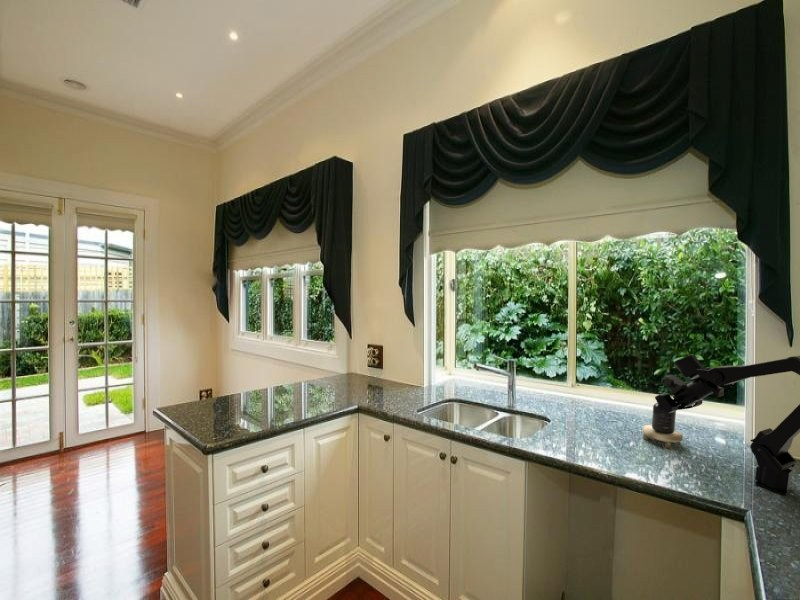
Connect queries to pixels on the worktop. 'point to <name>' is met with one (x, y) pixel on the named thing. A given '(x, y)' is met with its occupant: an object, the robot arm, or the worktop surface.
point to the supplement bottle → (663, 421)
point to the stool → (662, 436)
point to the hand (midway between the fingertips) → (660, 411)
